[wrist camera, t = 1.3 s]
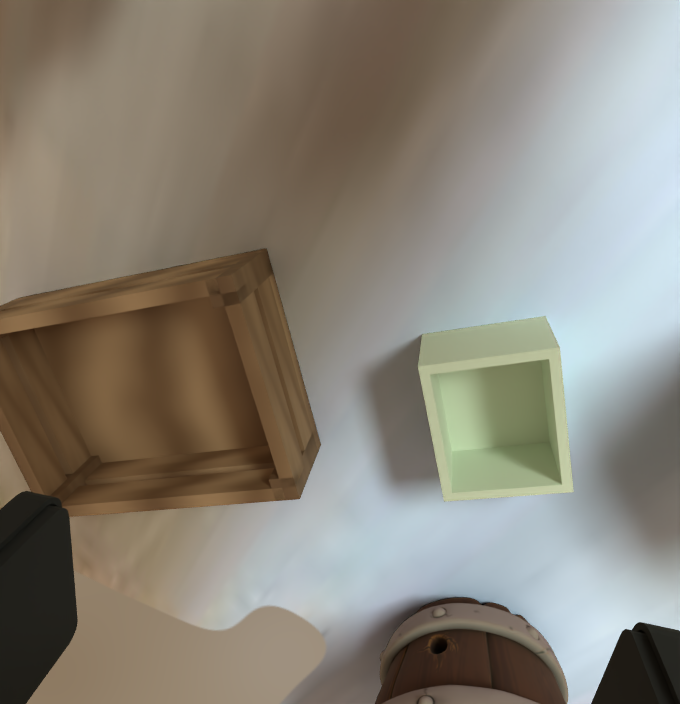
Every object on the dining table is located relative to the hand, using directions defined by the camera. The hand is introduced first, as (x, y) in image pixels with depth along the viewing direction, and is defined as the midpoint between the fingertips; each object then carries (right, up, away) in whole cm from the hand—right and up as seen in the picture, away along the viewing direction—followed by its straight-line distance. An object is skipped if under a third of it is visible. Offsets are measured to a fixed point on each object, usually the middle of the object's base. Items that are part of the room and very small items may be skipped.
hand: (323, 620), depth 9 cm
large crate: (-10, +3, +26) cm, 28 cm away
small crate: (+9, +2, +22) cm, 24 cm away
